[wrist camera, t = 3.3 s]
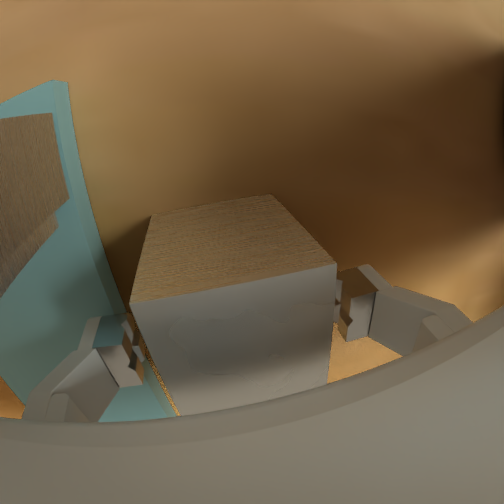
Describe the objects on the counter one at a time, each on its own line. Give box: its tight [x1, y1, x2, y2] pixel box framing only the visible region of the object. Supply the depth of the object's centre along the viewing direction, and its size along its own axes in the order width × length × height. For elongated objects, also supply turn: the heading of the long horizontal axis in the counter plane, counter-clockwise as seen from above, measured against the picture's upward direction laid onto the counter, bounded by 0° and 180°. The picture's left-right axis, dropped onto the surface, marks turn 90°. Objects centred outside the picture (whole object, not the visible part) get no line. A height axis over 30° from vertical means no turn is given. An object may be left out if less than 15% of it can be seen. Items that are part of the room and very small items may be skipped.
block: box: [129, 194, 337, 416], centre depth 9 cm, size 6×4×5 cm, turn 6°
